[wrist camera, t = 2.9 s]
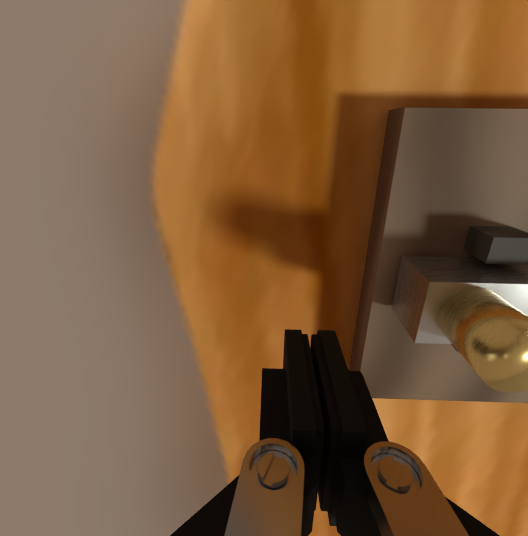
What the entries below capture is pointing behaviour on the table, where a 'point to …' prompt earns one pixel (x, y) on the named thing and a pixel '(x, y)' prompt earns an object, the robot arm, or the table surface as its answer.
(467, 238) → the frame
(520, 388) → the bolt
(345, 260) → the table surface
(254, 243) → the table surface
